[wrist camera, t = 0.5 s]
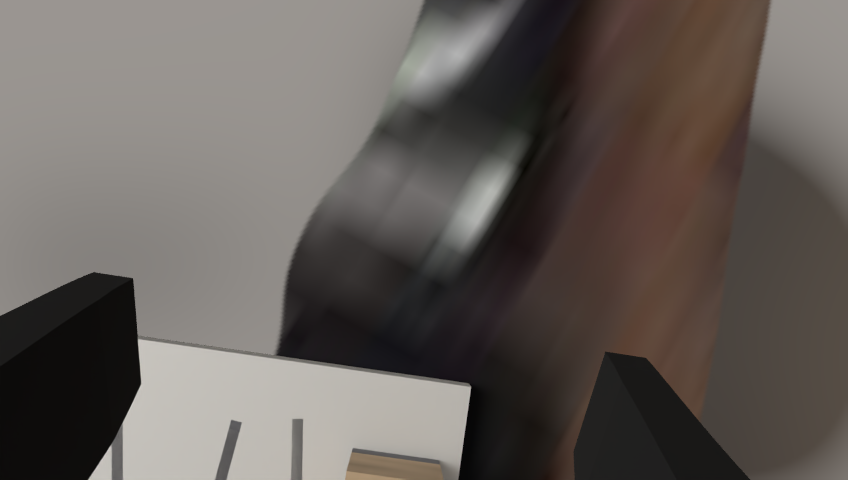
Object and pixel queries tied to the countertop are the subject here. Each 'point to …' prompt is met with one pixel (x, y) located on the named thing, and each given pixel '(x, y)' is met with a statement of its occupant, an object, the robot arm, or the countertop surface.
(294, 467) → the board
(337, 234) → the countertop surface
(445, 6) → the countertop surface
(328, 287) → the countertop surface
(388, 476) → the cork block
